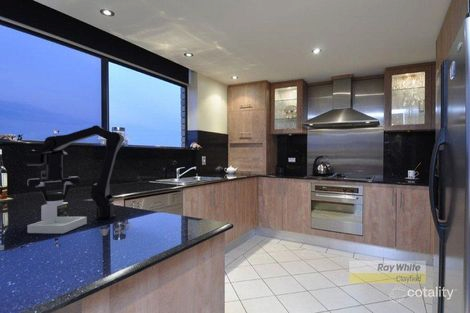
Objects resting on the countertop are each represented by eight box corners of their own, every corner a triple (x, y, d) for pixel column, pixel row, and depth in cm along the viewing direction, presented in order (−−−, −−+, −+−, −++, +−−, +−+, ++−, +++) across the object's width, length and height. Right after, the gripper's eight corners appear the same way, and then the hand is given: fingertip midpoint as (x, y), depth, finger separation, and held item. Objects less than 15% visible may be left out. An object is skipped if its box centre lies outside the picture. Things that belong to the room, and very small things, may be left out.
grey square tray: (86, 223, 107) (86, 216, 107) (63, 233, 94) (63, 225, 94) (55, 223, 108) (55, 216, 108) (27, 232, 95) (27, 225, 95)
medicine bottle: (57, 222, 110) (57, 194, 110) (41, 222, 110) (40, 194, 110) (68, 218, 117) (68, 191, 117) (53, 218, 117) (52, 191, 117)
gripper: (75, 164, 126) (75, 196, 126) (26, 165, 113) (26, 200, 113) (80, 164, 117) (80, 199, 118) (28, 166, 105) (28, 204, 105)
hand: (55, 200), depth 114 cm, fingers closed on medicine bottle, 6 cm apart
